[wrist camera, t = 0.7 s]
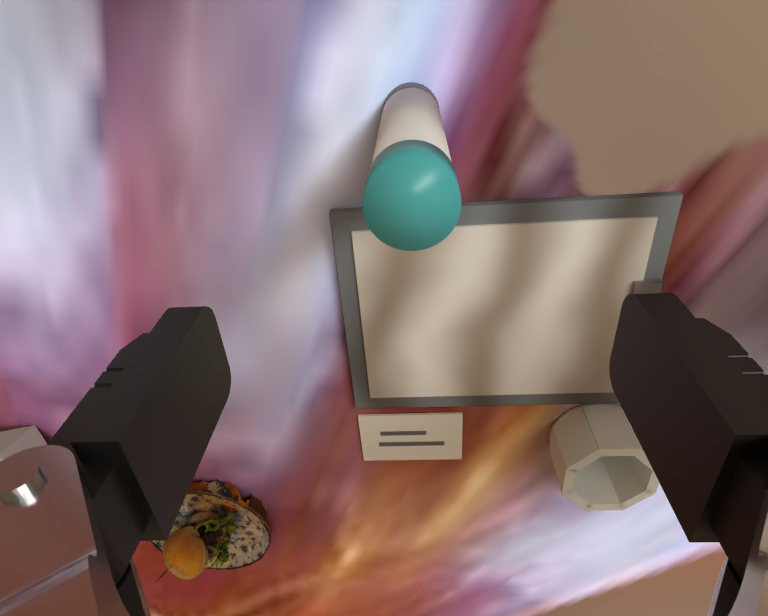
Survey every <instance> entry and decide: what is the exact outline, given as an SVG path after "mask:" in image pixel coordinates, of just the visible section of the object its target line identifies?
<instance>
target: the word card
mask: <svg viewBox="0 0 768 616" xmlns="http://www.w3.org/2000/svg"><path fill="white" fill-rule="evenodd" d="M462 419H463V414H462V412H452V413H405V414H358V421H359V428H360V436H361V443H362V451H363V458H364V461H370V460H439V459H462Z"/></svg>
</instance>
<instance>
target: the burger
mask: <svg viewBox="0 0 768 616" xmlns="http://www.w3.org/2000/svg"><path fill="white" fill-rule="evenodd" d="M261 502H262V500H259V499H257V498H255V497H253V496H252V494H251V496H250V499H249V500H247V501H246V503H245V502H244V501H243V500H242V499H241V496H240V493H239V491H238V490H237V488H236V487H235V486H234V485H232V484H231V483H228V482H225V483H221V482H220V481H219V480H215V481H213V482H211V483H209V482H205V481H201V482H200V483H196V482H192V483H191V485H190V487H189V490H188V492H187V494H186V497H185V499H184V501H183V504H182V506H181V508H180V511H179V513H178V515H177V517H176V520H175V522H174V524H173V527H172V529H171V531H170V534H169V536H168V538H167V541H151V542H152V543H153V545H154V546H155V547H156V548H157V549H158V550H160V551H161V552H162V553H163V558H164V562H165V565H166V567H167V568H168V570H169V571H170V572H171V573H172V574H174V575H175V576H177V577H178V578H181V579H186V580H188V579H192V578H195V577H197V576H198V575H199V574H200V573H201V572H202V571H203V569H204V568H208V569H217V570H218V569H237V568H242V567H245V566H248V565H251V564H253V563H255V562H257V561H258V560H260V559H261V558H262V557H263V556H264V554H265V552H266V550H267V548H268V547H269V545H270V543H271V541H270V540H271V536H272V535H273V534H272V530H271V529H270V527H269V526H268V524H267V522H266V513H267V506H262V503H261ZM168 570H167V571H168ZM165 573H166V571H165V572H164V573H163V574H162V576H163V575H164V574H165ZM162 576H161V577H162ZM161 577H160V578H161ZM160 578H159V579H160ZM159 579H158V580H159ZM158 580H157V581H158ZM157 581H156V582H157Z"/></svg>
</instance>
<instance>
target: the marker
mask: <svg viewBox="0 0 768 616" xmlns="http://www.w3.org/2000/svg"><path fill="white" fill-rule="evenodd" d="M460 212H461V195H460V190H459V186H458V182H457V177H456V173H455V170H454V167H453V165H452V163H451V158H450V154H449V149H448V145H447V141H446V136H445V132H444V128H443V123H442V119H441V115H440V110H439V106H438V102H437V99H436V97H435V96H434V94H433V93H432V92H431V90H429V89H428V88H427V87H425V86H424V85H421V84H418V83H405V84H401V85H399V86H397V87H396V88H395V89H393V90H392V91H391V92H390V93H389V95H388V96H387V98H386V100H385V103H384V107H383V111H382V116H381V121H380V126H379V131H378V135H377V140H376V145H375V150H374V155H373V160H372V164H371V167H370V169H369V173H368V177H367V181H366V186H365V191H364V195H363V214H364V218H365V221H366V223H367V225H368V227H369V229H370V230H371V232H372V233H373V234H374V235H375V236H376V237H377V238H378V239H379V240H380V241H382V242H383V243H384V244H386V245H388V246H390V247H393V248H395V249H399V250H404V251H419V250H424V249H427V248H430V247H433V246H435V245H437V244H438V243H440V242H441V241H443V240H444V239H445V238H446V237H447V236H448V235H449V234H450V233H451V232H452V230H453V229H454V228H455V226H456V224H457V222H458V219H459V217H460Z"/></svg>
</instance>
